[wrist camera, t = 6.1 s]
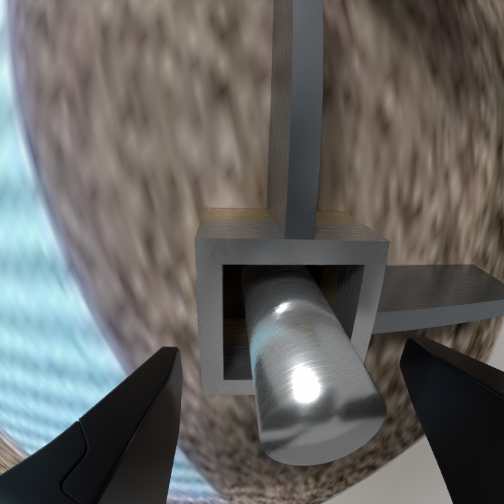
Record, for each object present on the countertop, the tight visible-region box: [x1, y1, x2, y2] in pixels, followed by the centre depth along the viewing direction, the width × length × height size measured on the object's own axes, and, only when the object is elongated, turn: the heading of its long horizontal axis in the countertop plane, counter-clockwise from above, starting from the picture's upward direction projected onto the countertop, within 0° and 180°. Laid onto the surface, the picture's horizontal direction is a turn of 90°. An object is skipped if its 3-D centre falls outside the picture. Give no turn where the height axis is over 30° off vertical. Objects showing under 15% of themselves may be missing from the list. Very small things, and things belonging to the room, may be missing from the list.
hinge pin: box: [241, 264, 386, 466], centre depth 9 cm, size 3×3×8 cm
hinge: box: [195, 0, 504, 395], centre depth 10 cm, size 15×13×4 cm
